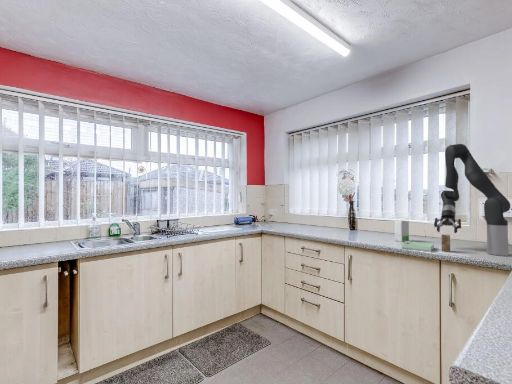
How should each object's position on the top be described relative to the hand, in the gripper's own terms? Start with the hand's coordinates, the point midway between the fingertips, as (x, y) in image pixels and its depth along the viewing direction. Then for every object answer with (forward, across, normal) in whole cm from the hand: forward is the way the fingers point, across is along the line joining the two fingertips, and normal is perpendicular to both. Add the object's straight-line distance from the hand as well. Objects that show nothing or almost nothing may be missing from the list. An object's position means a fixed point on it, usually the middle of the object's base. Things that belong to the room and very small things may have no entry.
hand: (446, 231), depth 173 cm
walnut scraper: (+13, 0, +3) cm, 13 cm away
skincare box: (-6, -30, +22) cm, 38 cm away
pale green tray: (+13, -15, +3) cm, 20 cm away
